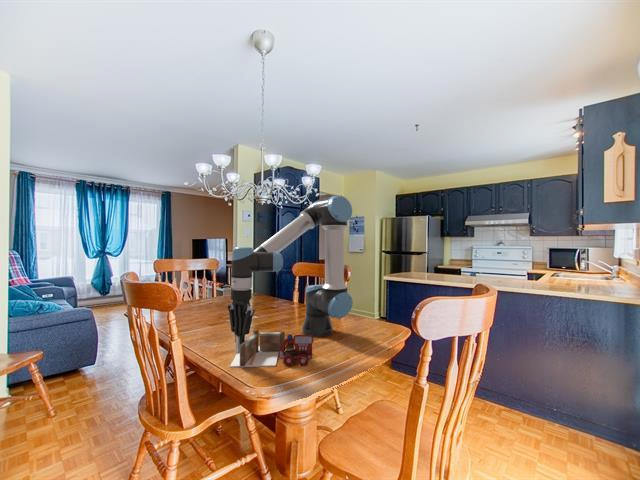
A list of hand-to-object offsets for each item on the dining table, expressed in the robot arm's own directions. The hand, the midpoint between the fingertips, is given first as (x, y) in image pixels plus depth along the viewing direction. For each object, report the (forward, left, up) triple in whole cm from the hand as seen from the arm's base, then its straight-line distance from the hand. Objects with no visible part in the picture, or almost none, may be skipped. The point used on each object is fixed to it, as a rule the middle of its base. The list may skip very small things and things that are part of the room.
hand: (239, 352), depth 106 cm
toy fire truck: (-21, +2, -4) cm, 21 cm away
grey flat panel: (-3, 0, -2) cm, 4 cm away
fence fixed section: (-10, -8, -3) cm, 13 cm away
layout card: (-6, -4, -3) cm, 8 cm away
